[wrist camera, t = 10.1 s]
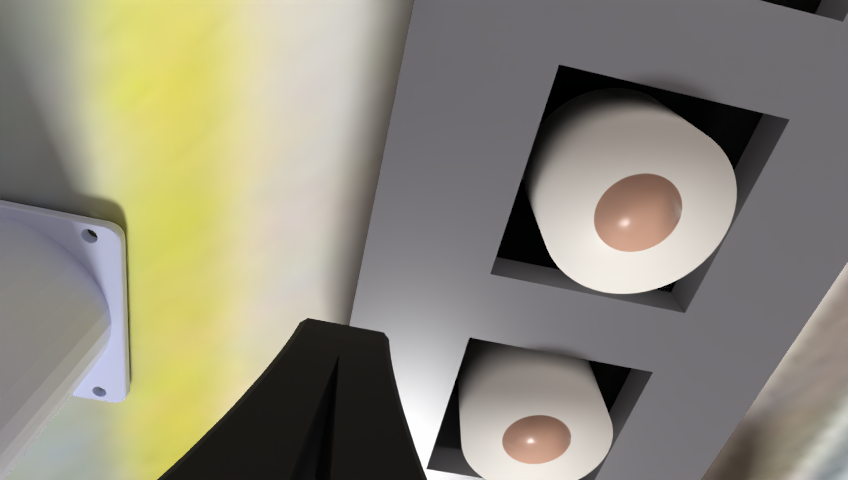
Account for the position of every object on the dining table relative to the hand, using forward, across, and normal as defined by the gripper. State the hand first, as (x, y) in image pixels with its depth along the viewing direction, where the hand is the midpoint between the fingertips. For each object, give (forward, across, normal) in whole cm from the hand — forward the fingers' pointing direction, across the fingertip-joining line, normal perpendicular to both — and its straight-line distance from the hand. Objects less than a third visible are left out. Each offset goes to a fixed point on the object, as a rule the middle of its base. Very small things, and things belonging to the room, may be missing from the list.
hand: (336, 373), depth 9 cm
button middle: (+8, -6, -2) cm, 10 cm away
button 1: (+8, -6, +5) cm, 11 cm away
